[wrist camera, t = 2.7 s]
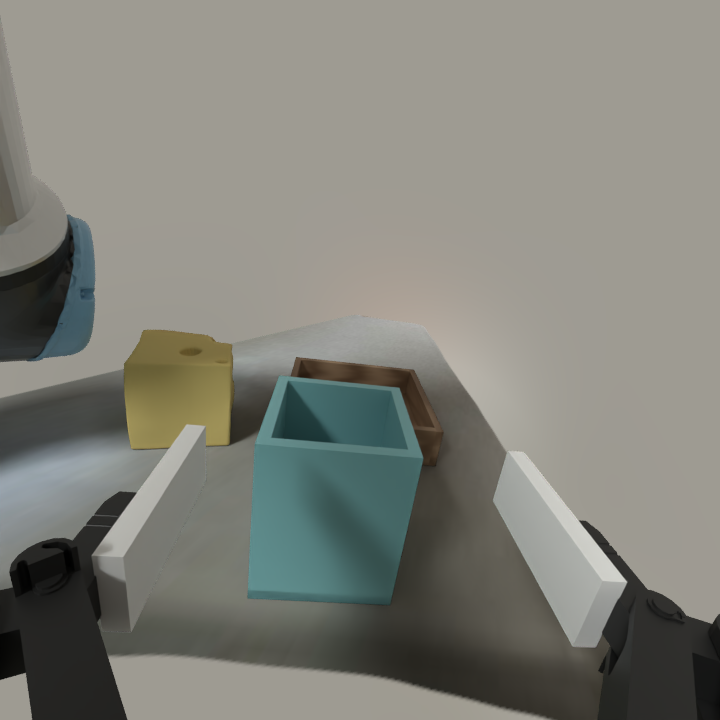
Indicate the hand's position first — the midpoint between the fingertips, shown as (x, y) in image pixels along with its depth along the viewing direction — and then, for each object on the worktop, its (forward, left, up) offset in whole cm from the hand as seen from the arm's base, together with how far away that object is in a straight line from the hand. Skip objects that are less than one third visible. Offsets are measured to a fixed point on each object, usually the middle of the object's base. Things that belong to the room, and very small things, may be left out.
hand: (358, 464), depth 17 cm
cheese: (-30, +11, -16) cm, 35 cm away
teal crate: (-7, +8, -16) cm, 19 cm away
